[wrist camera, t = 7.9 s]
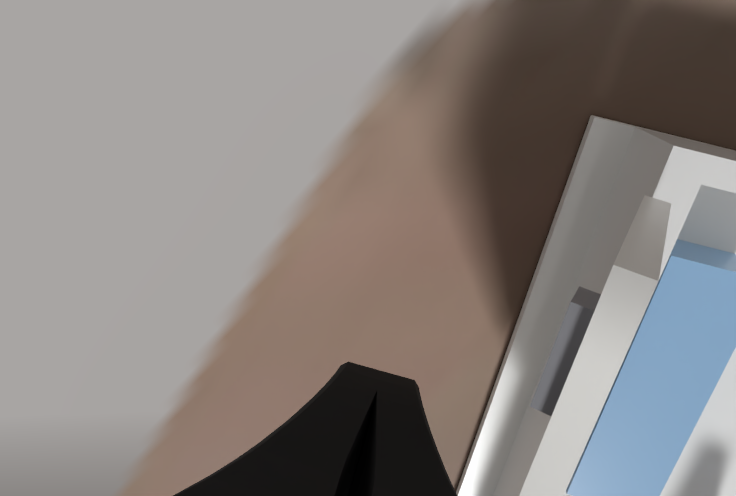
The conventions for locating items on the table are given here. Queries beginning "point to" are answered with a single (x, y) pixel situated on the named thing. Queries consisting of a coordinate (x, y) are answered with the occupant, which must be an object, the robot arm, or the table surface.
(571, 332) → the cover
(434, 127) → the table surface
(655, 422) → the pale blue rectangular prism
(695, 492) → the white storage tray
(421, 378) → the table surface
